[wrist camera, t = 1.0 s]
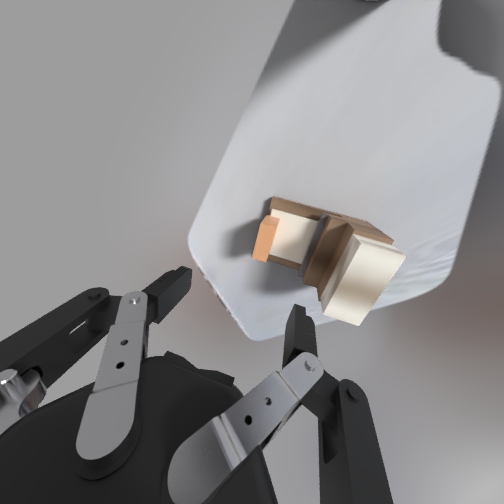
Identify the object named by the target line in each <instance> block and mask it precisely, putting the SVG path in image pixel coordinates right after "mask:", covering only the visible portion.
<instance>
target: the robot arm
mask: <svg viewBox="0 0 504 504" xmlns="http://www.w3.org/2000/svg"><path fill="white" fill-rule="evenodd" d="M365 1H378V0H365ZM191 279H192V269H190V268H187V267H184V266H181V267H179V268H178V269H177V270H176V271H175V270H171V271H169V272H166V273H165V274H163V275H162V276H161V277H160V278H158V279H157V280H155V281H154V282H153V283H152V284H150V285H149V286H148V287H146V288H145V289H144V290H142V291H141V292H140V291H135V292H130V293H128V294H126V295H124V296H111V295H109V291H108V290H107V289H106V288H101V287H99V288H91V289H88V290H86V291H84V292H82V293H81V294H79V295H77V296H76V297H74V298H72V299H71V300H69V301H68V302H66V303H64V304H63V305H61V306H59V307H58V308H56V309H54V310H52V311H51V312H49V313H47V314H46V315H44V316H42V317H41V318H39V319H38V320H36V321H35V322H33V323H31V324H29V325H28V326H26V327H24V328H23V329H21V330H19V331H18V332H16V333H14V334H13V335H11V336H9V337H8V338H6V339H4V340H3V341H1V342H0V504H278V501H277V498H276V495H275V492H274V488H273V485H272V482H271V478H270V475H269V472H268V468H267V465H266V462H265V459H264V455H263V452H262V451H263V450H264V449H265V448H266V447H267V446H268V445H269V443H270V442H271V441H272V440H273V439H274V437H275V436H276V435H277V434H278V432H279V431H280V430H281V428H282V427H283V426H284V425H285V424H286V422H287V421H288V420H289V419H290V418H291V417H292V416H293V415H294V413H295V412H296V411H297V410H298V409H299V408H300V407H301V405H304V406H305V407H306V408H307V409H309V410H310V411H311V412H312V413H313V414H314V415H316V416H317V417H318V434H319V435H318V436H319V477H320V504H393V500H392V496H391V492H390V488H389V484H388V480H387V476H386V472H385V467H384V463H383V460H382V456H381V452H380V448H379V443H378V439H377V435H376V431H375V427H374V423H373V419H372V415H371V411H370V407H369V403H368V399H367V397H366V395H365V393H364V392H363V390H362V389H361V388H360V387H359V386H358V385H357V384H356V383H354V382H353V381H351V380H348V379H343V380H341V381H340V382H339V381H338V380H337V379H335V378H334V377H332V376H331V375H330V374H328V373H327V372H326V371H325V370H324V369H323V365H322V363H321V362H320V360H319V359H318V356H317V345H316V337H315V336H316V335H315V324H314V322H313V320H312V318H311V317H309V316H306V309H305V307H303V306H300V305H297V304H294V306H293V308H292V311H291V313H290V315H289V318H288V320H287V324H286V331H285V342H284V354H283V364H282V370H281V371H279V372H277V371H275V372H273V373H272V374H271V375H269V376H268V377H267V378H266V379H265V380H263V381H262V382H261V383H260V384H259V385H257V386H256V387H255V388H253V389H252V390H251V391H250V392H249V393H247V394H246V395H245V396H243V394H242V393H241V391H240V390H239V389H238V388H237V387H236V386H235V385H234V384H233V382H234V377H231V376H229V375H226V374H224V373H221V372H218V371H213V370H204V369H197V368H196V367H195V366H194V365H192V364H191V363H190V362H189V361H187V360H186V359H185V358H184V357H181V356H179V355H177V354H174V353H172V352H169V351H167V352H166V353H165V355H164V356H154V357H149V358H147V352H148V337H149V325H150V324H151V323H152V322H155V323H157V324H159V323H160V322H161V321H162V320H163V319H164V318H165V316H166V315H167V314H168V313H169V312H170V311H171V310H172V309H173V308H174V307H175V306H176V305H177V304H178V302H179V301H180V300H181V299H182V298H183V297H184V296H185V295H186V294H187V293H188V291H189V290H190V287H191ZM84 321H85V323H84V324H83V325H81V326H80V327H79V328H77V329H76V330H75V331H73V332H72V333H71V334H70V332H71V331H72V330H73V329H74V328H76V327H77V326H78V325H80V324H81V323H83V322H84ZM108 333H109V334H108ZM69 334H70V335H69ZM106 334H108V337H107V341H106V345H105V349H104V352H103V356H102V359H101V363H100V367H99V370H98V374H97V378H96V381H95V382H93V383H91V384H89V385H86V386H84V387H82V388H80V389H78V390H76V391H74V392H72V393H69V394H67V395H65V396H63V397H61V398H59V399H57V400H54V401H52V402H50V403H48V404H46V405H44V406H42V407H39V408H38V405H39V404H40V403H41V402H42V400H43V399H44V397H45V395H46V392H47V389H48V388H49V387H50V386H51V385H52V384H53V383H54V382H55V381H56V380H57V379H58V378H59V377H61V376H62V375H63V374H64V373H65V372H66V371H67V370H68V369H69V368H70V367H72V366H73V364H75V363H76V362H77V361H78V360H79V359H80V358H81V357H82V356H84V355H85V354H86V353H87V352H88V351H89V350H90V349H91V348H92V347H93V346H94V345H96V344H97V343H98V342H99V341H100V340H101V339H102V338H103V337H104V336H105V335H106Z"/></svg>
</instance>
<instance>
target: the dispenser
mask: <svg viewBox="0 0 504 504" xmlns="http://www.w3.org/2000/svg"><path fill="white" fill-rule="evenodd" d="M272 209H276V210H280V211H283V212H287V213H290V214H294V215H298V216H301V217H305V218H308V219H312V220H315V221H319V222H318V224H317V227H316V229H315V232H314V234H313V237H312V239H311V242H310V244H309V247H308V249H307V252H306V254H305V257H304V259H303V262H302V264H300V263H296V262H293V261H290V260H287V259H284V258H280V257H277V256H274V255H271V254H269V256H268V258H267V260H270V261H273V262H276V263H279V264H282V265H285V266H289V267H292V268H295V269H298V270H299V272H298V276H300V277H303V284H306V285H309V286H313V287H316V288H317V292H318V299H319V301H321V305H322V311H323V314H324V315H327V316H330V317H333V318H336V319H339V320H342V321H345V322H348V323H351V324H354V325H357V326H359V325H360V324H361V322H362V321H363V319H364V318H365V316H366V315H367V313H368V312H369V311H370V309H371V308H372V306H373V305H374V303H375V302H376V300H377V299H378V297H379V296H380V294H381V293H382V292H383V290H384V289H385V287H386V286H387V284H388V283H389V281H390V280H391V278H392V277H393V275H394V274H395V273H396V271H397V270H398V268H399V267H400V265H401V264H402V262H403V261H404V259H405V258H406V256H405V255H404V254H403V253H401V252H400V251H399V250H398V249H396V248H395V247H394V246H392V245H391V244H392V243H393V241H394V240H393V239H391V238H390V237H389V236H387V235H386V234H384V233H383V232H382V231H380V230H379V229H377V228H376V227H374V226H373V225H372V224H370V223H369V222H367V221H363V220H359V219H356V218H352V217H348V216H345V215H341V214H337V213H333V212H330V211H326V210H322V209H319V208H315V207H311V206H308V205H304V204H300V203H296V202H293V201H289V200H285V199H282V198H278V197H274V196H273V197H272V200H271V204H270V208H269V211H268V215H269V216H270V215H271V211H272Z"/></svg>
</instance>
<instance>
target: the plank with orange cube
mask: <svg viewBox="0 0 504 504" xmlns="http://www.w3.org/2000/svg"><path fill="white" fill-rule="evenodd" d="M318 222H319V221H315V220H312V219H308V218H305V217H301V216H298V215H294V214H290V213H287V212H283V211H280V210H276V209H272V211H271V215H270V216H269V215H266V217H265V218H264V219H263V221H262V222H261V224H260V227H259V231H258V235H257V239H256V243H255V247H254V251H253V255H252V258H253V259H256V260H260V261H263V262H266V261H267V258H268V256H269V254H271V255H274V256H277V257H280V258H284V259H287V260H290V261H293V262H296V263H300V264H302V262H303V259H304V257H305V254H306V252H307V249H308V247H309V244H310V242H311V239H312V237H313V234H314V232H315V229H316V227H317V224H318Z"/></svg>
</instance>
